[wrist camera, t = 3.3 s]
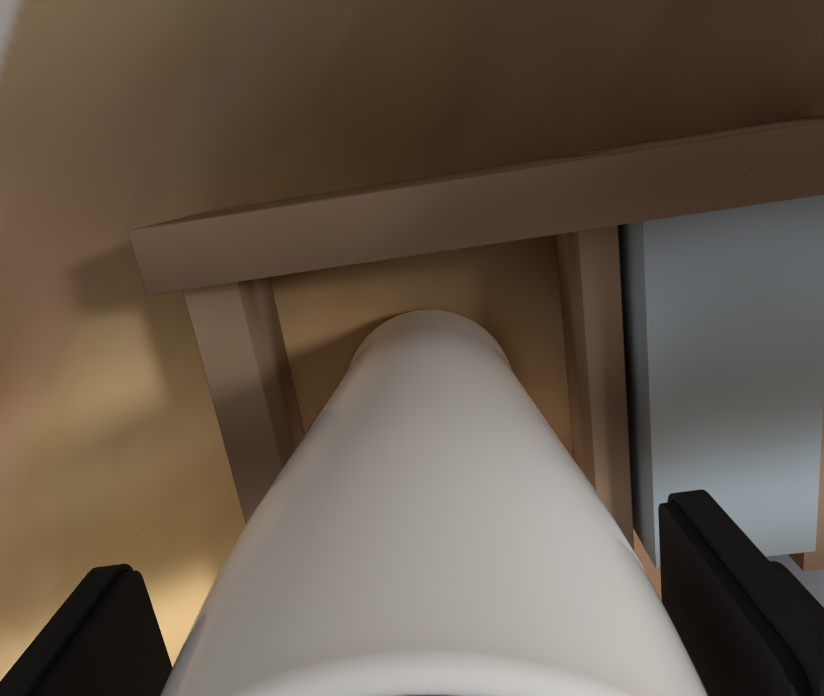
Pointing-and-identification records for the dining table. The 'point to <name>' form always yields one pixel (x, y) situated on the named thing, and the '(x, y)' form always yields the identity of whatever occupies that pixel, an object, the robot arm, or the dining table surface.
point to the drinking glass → (432, 549)
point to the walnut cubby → (575, 313)
